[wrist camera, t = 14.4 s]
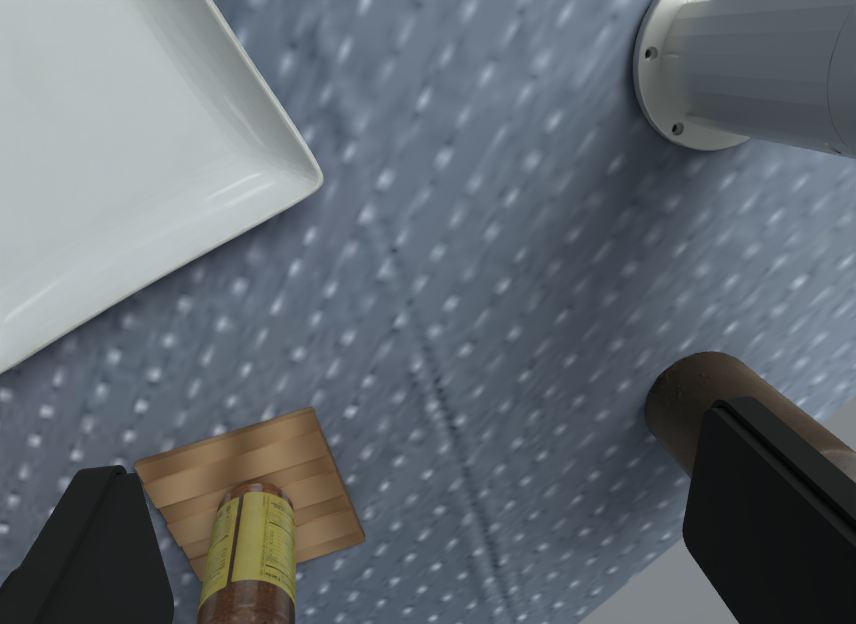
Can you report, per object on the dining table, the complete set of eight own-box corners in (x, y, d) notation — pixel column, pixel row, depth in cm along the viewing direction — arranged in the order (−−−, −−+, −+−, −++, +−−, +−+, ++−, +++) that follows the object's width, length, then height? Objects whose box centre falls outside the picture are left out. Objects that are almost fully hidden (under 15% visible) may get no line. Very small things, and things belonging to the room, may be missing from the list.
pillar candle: (646, 361, 51) (763, 479, 37) (754, 341, 51) (908, 449, 38) (641, 454, 55) (746, 590, 41) (742, 434, 56) (876, 561, 42)
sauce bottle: (231, 546, 50) (181, 827, 32) (205, 488, 47) (135, 758, 29) (309, 526, 50) (303, 791, 32) (288, 467, 48) (268, 721, 30)
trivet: (312, 406, 47) (311, 414, 46) (364, 534, 53) (365, 544, 52) (137, 460, 47) (133, 469, 46) (210, 584, 53) (208, 594, 52)
